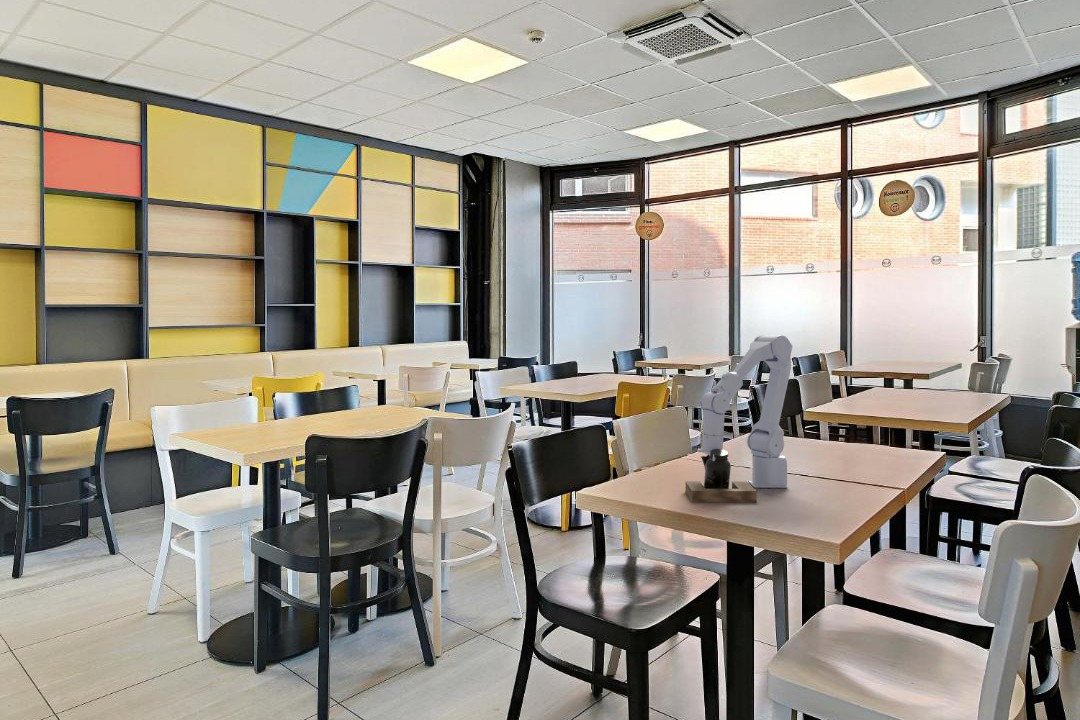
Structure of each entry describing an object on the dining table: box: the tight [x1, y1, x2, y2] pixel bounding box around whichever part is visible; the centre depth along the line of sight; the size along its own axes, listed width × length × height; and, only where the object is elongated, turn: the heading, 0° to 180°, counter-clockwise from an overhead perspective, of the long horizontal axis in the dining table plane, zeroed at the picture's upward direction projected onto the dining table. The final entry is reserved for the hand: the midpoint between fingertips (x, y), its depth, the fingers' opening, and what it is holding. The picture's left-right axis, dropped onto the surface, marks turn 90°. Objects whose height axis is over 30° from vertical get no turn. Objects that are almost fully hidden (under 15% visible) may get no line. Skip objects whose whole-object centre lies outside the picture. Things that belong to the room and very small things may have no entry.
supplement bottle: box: [703, 448, 732, 489], centre depth 194 cm, size 7×7×12 cm
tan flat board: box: [685, 480, 758, 503], centre depth 192 cm, size 17×12×3 cm
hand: (710, 481), depth 199 cm, fingers closed, pressing on supplement bottle
